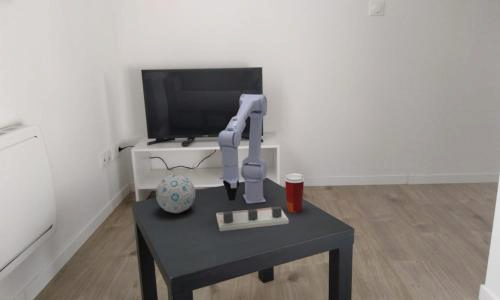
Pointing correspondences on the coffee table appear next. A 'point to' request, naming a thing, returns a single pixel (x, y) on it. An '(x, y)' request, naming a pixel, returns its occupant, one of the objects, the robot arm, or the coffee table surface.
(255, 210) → the breaker
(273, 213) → the block
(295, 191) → the paper cup
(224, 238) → the coffee table surface
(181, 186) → the puzzle ball
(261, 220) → the breaker panel
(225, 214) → the block
